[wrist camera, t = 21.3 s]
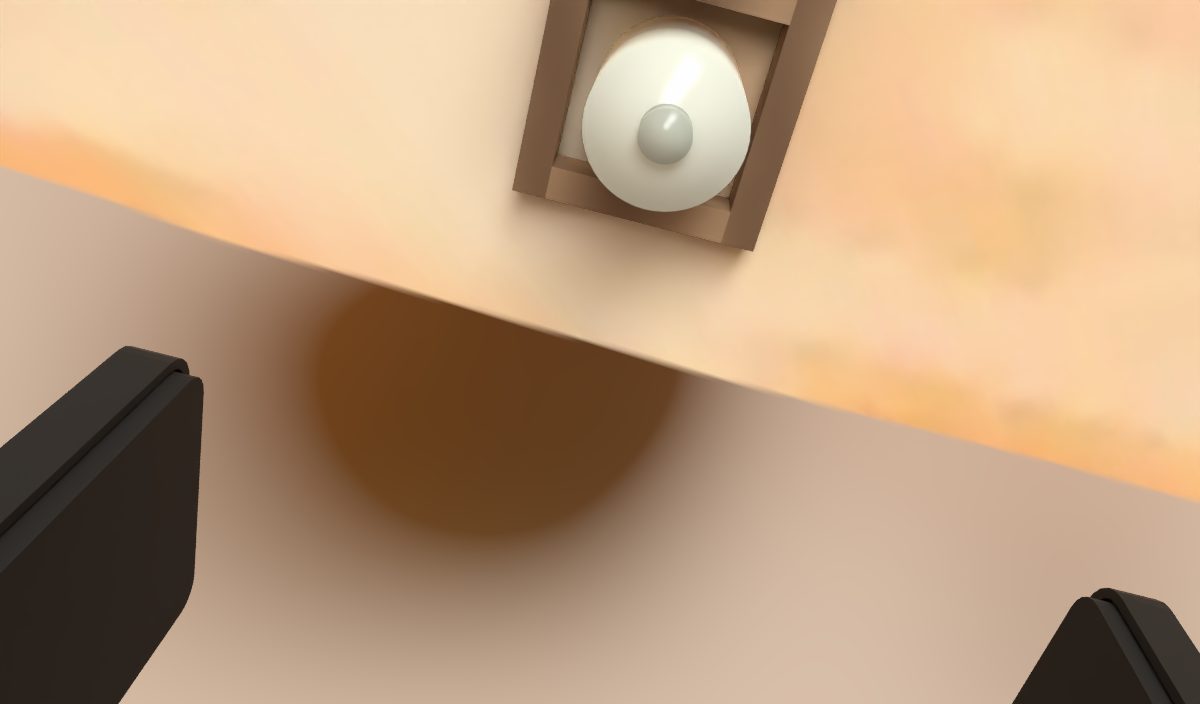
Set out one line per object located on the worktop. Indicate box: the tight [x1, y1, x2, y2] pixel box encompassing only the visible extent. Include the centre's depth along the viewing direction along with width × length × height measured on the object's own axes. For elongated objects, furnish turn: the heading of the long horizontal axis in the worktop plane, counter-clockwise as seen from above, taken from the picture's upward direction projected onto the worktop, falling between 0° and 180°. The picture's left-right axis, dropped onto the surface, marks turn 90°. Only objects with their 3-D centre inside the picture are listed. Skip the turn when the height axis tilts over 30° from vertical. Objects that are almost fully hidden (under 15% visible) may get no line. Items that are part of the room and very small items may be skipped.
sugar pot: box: [582, 16, 751, 212], centre depth 31 cm, size 5×5×7 cm
